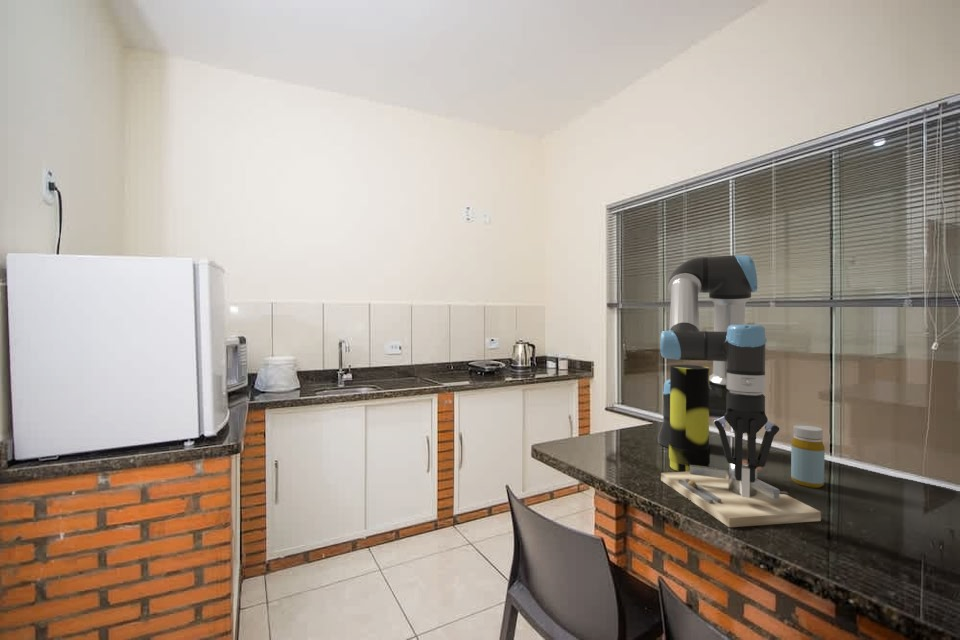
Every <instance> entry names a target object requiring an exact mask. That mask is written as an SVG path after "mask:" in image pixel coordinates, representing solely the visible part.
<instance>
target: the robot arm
mask: <svg viewBox="0 0 960 640" xmlns="http://www.w3.org/2000/svg"><path fill="white" fill-rule="evenodd" d="M756 268H757V267H756V265H755V261H754V258H752V257H751V255H743V254H733V255H732V254H731V255H719V256H699V257H693V258H691V259H688V260H686V261H684V262H683V263H680V265H678V266H677V267H676V268H675V270H674V271H673V272H672V273H671V275H670V276H669V279H668V283H667V291H668V293H669V295H670V307H669V312H670V313H669V325H668V327H669V328H668V330H664V331H661V333H660V341H659V342H660V347H659V348H660V355H661V357H662V358H663V359H670V360H676V361H677V360H678V361H680V360H682V361H683V360H684V361H707V362H708V361H711V362H712V361H713V362H712V363H713V364H712V365H713V366H712V367H713V368H712V370H713V371H712V374H709V418H712V420H713V421H712V422H713V424H714V426H715V427H716V429H717V430H718V435H719V437H720V441H721V445H722V449H723V453H724V457H725V459H726V461H727V463H728V464H729V463H731V464H733V465H735V478H736V480H738V481H740V494H741V496H742V497H747V498H750V482H755V469H756V468H757V467H761V468H764V467H765V466H766V464H767V460H768V457H769V453H770V450H771V446H772V443H773V440H774V438H775V436H776V435H777V433H778V432H779V431H780V427H779V426H778V425H777V424H775V423H773V422H771V421H769V418H768V416H767V415H766V396H765V394H763V393H765V392H766V345H767V344H766V343H767V338H766V329H765V327H764V326H763V325H762V324H761V325H760V324H745V323H746V321H745V318H746V304H747V302H748V301H749V300H750V299H751V298H752V293H755V292H757V291H758V277H757V276H758V275H757V269H756ZM700 293H701V294H702V293H703V294H704V293H705V294H707V293H708V294H709V296H708V297H709V300H711V302H712V303H713V305H714V306H713V307H714V308H713V310H714V311H713V312H714V313H713V314H714V316H713V331H709V330H707V331H705V330H703V331H702V330H701V331H700V314H699V313H700V312H699V309H700V307H699V294H700ZM662 394H663V408H662V409H663V412H662V413H663V419H662V423H661V425H660V428H659V432H658V434H657V442H658V444H659V445H661V446H663V447H666V448H668V449H669V442H670V378H669V379H667V380H665V381H664V383H663V392H662ZM713 418H714V419H713ZM726 422H727V424H728V425H729V427H731V428H732V429H733V430H732V429H731V430H732V431H733V434H734V449H733V452H734V455H732V452H731V448H730V444H729V440H728V436H727V433H726V430H725V428H726V426H727V424H726ZM763 427H764V430H765V432H764V434H763V437H762V441H761V445H760V448H759V451H758V454H757V452H756V450H757V443H756V442H757V433H759V431H761V430H762V428H763ZM744 434H746V436H747V440H746V441H747V446H746V447H747V448H746V449H747V450H746V451H747V453H746V455H747V457H746V458H747V459H746V460H747V463H748V465H742V459H743V438H744Z"/></svg>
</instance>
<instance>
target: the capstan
mask: <svg viewBox="0 0 960 640" xmlns="http://www.w3.org/2000/svg"><path fill="white" fill-rule="evenodd" d="M742 465H748V463H747V459H743V458H742ZM727 468H728V469H726V468H720V467H711V466H709V467H705V466H697V465H690V474H692V475H700V476H708V477H715V478H723V479H726V470H728V489H729V490H730V491H732V492H734V493H737V494H740V481H738V480H736V478H735V465H733V464H731V463H728V467H727ZM760 471H762V467H757V468H756V469H755V482H750V496H754V495H757V490H758V491H759V492H761V493H763V494H765V495H767V496H769V497H771V498H773V499H779V494H780V489H779V488H777V487H775V486H773V485H771V484H769V483H766V482H765V481H762V480H761V479H758V473H759V472H760ZM740 495H741V494H740Z"/></svg>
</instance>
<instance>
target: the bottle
mask: <svg viewBox="0 0 960 640" xmlns="http://www.w3.org/2000/svg"><path fill="white" fill-rule="evenodd" d="M823 433H824V432H823V428H821V427H819V426H814V425H808V424H795V425H793V439H792V441H791V444H790V445H791V450H790V452H791V454H790V455H791V456H790V459H791V461H790V463H791V464H790V470H791V471H790V476H791V477H790V478H791V480H792V482H794V483H795V484H798V485H800V486H803V487H806V488H812V489H813V488H815V489H817V488H822V487H823V486H824V485H825V455H826V454H825V446H824V443H823V437H824V436H823Z"/></svg>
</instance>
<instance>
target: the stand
mask: <svg viewBox="0 0 960 640" xmlns="http://www.w3.org/2000/svg"><path fill="white" fill-rule="evenodd" d="M660 481H661V482H662V483H664V484H666V485H667V486H669V487H670V488H671V489H673V490H675V491H676V492H677V493H679V494H680V495H682V497H685V498H686V499H687V498H688V499H687V500H689V501H690V500H691V501H690V502H692V503H693V504H695V505H696V506H697V507H699V508H700V509H702V510H703V511H705V512H706V513H708V514H709V515H711V516H712V517H713V518H715V519H717V521H720V522H721V523H722V524H724V525H725V526H727V527H728V528H738V527H753V526H754V527H755V526H769V525H782V524H783V525H784V524H794V523H795V524H796V523H809V522H822V521H821V520H822V511H820V510H819V509H816V508H814V507H812V506H811V505H808V504H807V503H804V502H802V501H800V500H799V499H796V498H794V497H792V496H790V495H789V492H787V491H780V494H779V499H773V498H771V497H769V496H767V495H765V494H763V493H761V492H759V491H758V490H757V495H754V496H750V498H747V497H742V496H741V495H740V494H737V493H734V492H732V491H730V490H729V489H728V469H726V479H723V478H715V477H708V476H700V475H692V474H690V471H688V472H678V471H674V472H673V471H671V472H660Z"/></svg>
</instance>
